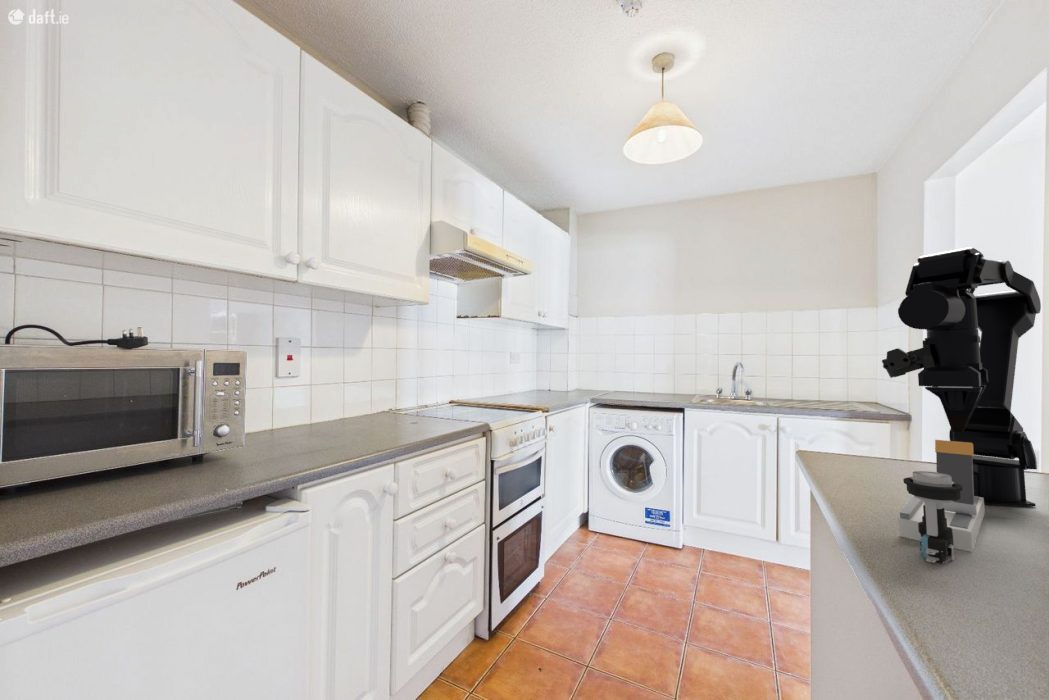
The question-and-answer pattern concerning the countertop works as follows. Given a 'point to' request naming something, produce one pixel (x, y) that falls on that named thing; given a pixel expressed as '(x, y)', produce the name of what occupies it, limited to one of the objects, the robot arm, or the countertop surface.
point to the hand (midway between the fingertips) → (958, 431)
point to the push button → (934, 512)
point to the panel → (961, 524)
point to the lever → (957, 472)
